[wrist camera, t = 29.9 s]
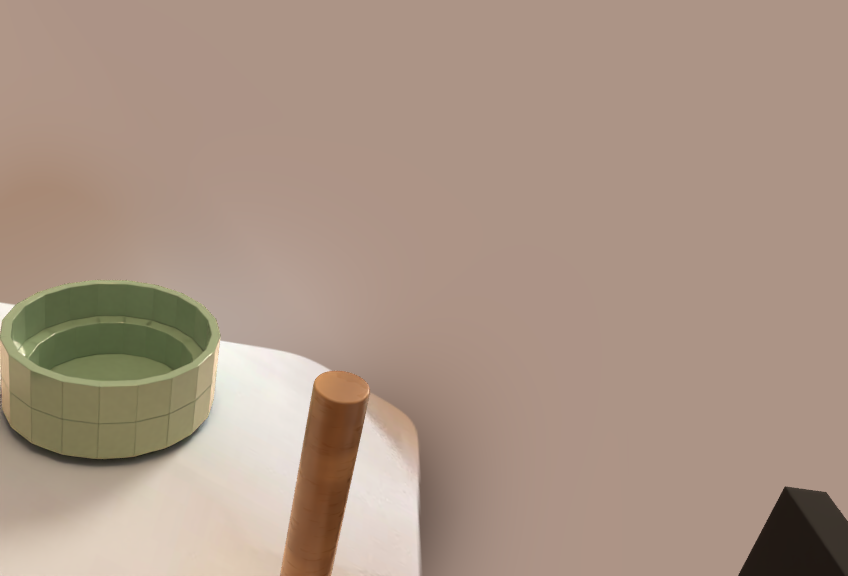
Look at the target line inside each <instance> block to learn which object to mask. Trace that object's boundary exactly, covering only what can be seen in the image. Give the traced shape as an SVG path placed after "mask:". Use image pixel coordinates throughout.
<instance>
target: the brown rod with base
mask: <svg viewBox="0 0 848 576" xmlns="http://www.w3.org/2000/svg"><path fill="white" fill-rule="evenodd" d="M369 395H370V389H369V386H368V384H367V383H366V381H365V380H363V379H362V378H361V377H359V376H357V375H355V374H352V373H349V372H344V371H329V372H325V373H322V374H321V375H319V376H318V377H317V378H316V379H315V381H314V384H313V390H312V396H311V401H310V407H309V413H308V419H307V424H306V430H305V436H304V441H303V447H302V453H301V459H300V464H299V470H298V476H297V482H296V487H295V493H294V499H293V504H292V510H291V516H290V522H289V527H288V533H287V539H286V545H285V550H284V556H283V562H282V567H281V573H280V576H331V573H332V569H333V564H334V559H335V554H336V550H337V545H338V540H339V536H340V531H341V526H342V522H343V517H344V512H345V508H346V503H347V498H348V494H349V489H350V484H351V480H352V475H353V470H354V466H355V461H356V456H357V452H358V447H359V442H360V437H361V433H362V428H363V423H364V419H365V414H366V409H367V405H368V400H369Z"/></svg>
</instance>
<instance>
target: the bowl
mask: <svg viewBox="0 0 848 576" xmlns="http://www.w3.org/2000/svg"><path fill="white" fill-rule="evenodd" d="M220 336H221V335H220V331H219V327H218V324H217V320H216V319H215V318H214V316H213V315H212V314H211V313H210V312H209V311H208V310H207V309H206V308H205V307H204V306H203V305H202V304H200V303H199V302H197V301H195V300H193V299H192V298H190V297H188V296H186V295H185V294H183V293H180V292H177V291H174V290H171V289H168V288H165V287H162V286H159V285H153V284H147V283H140V282H135V281H127V280H92V281H84V282H76V283H68V284H64V285H60V286H57V287H53V288H50V289H47V290H44V291H40V292H37V293H36V294H34V295H32V296H30V297H29V298H27V299H25V300H23V301H21V302H19V303H18V304H16V305H15V306H14V307H13V308H12V310H11V311H10V312H9V313H8V314H7V315H6V316H5V318H4V319H3V320H2V325H1V331H0V367H1V396H2V410H3V412H4V414H5V416H6V418H7V420H8V422H9V424H10V426H11V427H12V428H13V429H14V430H15V431H16V432H18V433H19V434H20V435H22V436H23V437H24V438H25V439H27V440H28V441H29V442H30V443H32V444H34V445H37V446H39V447H42V448H45V449H48V450H50V451H53V452H56V453H58V454H62V455H68V456H76V457H84V458H92V459H111V458H125V457H134V456H138V455H142V454H146V453H149V452H153V451H157V450H160V449H164V448H167V447H169V446H171V445H173V444H175V443H177V442H179V441H180V440H182V439H184V438H186V437H188V436H190V435H191V434H192V433H193V432H194V431H195V430H196V429H197V428H198V427H199V426H200V425H201V424H202V423H203V422H204V421H205V420H206V419H207V417H208V415H209V412H210V409H211V406H212V403H213V400H214V391H215V382H216V373H217V364H218V355H219V346H220Z"/></svg>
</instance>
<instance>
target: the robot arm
mask: <svg viewBox="0 0 848 576" xmlns="http://www.w3.org/2000/svg"><path fill="white" fill-rule="evenodd" d="M738 576H848V521H847V520H846V518H845V517H844V516H843V514H842V513H841V512H840V510H839V509H838V508H837V506H836V505H835V504H834V502H833V501H832V499H831V498H830V497H829V495H828V494H827V493H826V492H821V491H813V490H806V489H799V488H792V487H784V489H783V491H782V493H781V495H780V497H779V499H778V501H777V503H776V505H775V507H774V508H773V510H772V512H771V514H770V516H769V518H768V520H767V522H766V524H765V525H764V527H763V529H762V531H761V533H760V535H759V537H758V539H757V541H756V543H755V545H754V546H753V548H752V550H751V552H750V554H749V556H748V558H747V560H746V562H745V564H744V565H743V567H742V569H741V571H740V573H739V575H738Z"/></svg>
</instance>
